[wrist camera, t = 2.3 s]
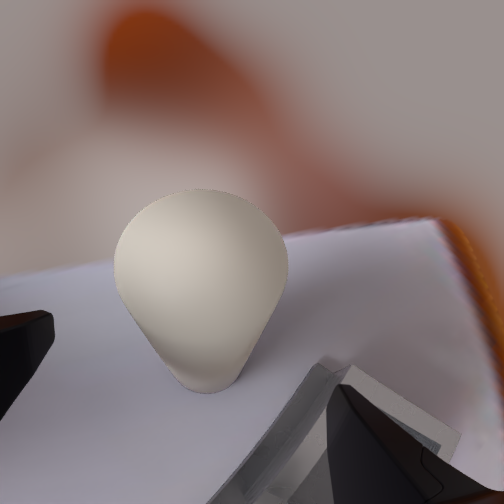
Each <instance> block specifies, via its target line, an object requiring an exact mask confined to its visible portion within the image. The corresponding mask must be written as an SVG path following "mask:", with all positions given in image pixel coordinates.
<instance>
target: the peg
mask: <svg viewBox="0 0 504 504" xmlns="http://www.w3.org/2000/svg"><path fill="white" fill-rule="evenodd" d="M287 275H288V256H287V250H286V247H285V244H284V241H283V239H282V237H281V234H280V232H279V231H278V229H277V228H276V226H275V225H274V224H273V222H272V221H271V220H270V219H269V217H268V216H267V215H266V214H264V213H263V212H262V211H261V210H260V209H259V208H257V207H256V206H255V205H253V204H252V203H250V202H248V201H246V200H244V199H242V198H240V197H238V196H235V195H232V194H229V193H226V192H221V191H216V190H205V189H204V190H203V189H202V190H201V189H198V190H197V189H196V190H186V191H182V192H177V193H173V194H170V195H167V196H165V197H162V198H160V199H158V200H156V201H154V202H153V203H151V204H149V205H148V206H146V207H145V208H144V209H142V210H141V211H140V212H139V213H138V214H137V215H136V216H135V217H134V218H133V219H132V220H131V221H130V223H129V224H128V225H127V227H126V228H125V230H124V231H123V233H122V235H121V237H120V239H119V242H118V245H117V248H116V251H115V257H114V277H115V283H116V286H117V289H118V292H119V295H120V297H121V299H122V301H123V303H124V304H125V306H126V308H127V309H128V311H129V312H130V314H131V315H132V317H133V318H134V320H135V321H136V323H137V324H138V326H139V327H140V329H141V330H142V332H143V333H144V335H145V336H146V338H147V339H148V341H149V342H150V344H151V345H152V346H153V348H154V349H155V351H156V352H157V353H158V355H159V356H160V358H161V359H162V360H163V362H164V363H165V364H166V366H167V367H168V369H169V370H170V371H171V373H172V374H173V375H174V377H175V378H176V379H177V380H178V381H179V382H180V383H181V384H182V385H183V386H184V387H186V388H187V389H189V390H191V391H194V392H197V393H203V394H211V393H216V392H220V391H222V390H224V389H226V388H227V387H229V386H230V385H231V384H232V383H233V382H234V381H235V380H236V379H237V377H238V376H239V374H240V372H241V370H242V369H243V367H244V365H245V363H246V361H247V360H248V358H249V356H250V354H251V352H252V350H253V349H254V347H255V345H256V343H257V341H258V339H259V338H260V336H261V334H262V332H263V330H264V328H265V326H266V325H267V323H268V321H269V319H270V317H271V315H272V313H273V311H274V309H275V308H276V306H277V304H278V302H279V300H280V298H281V296H282V293H283V291H284V288H285V285H286V281H287Z"/></svg>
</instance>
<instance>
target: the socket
mask: <svg viewBox="0 0 504 504" xmlns="http://www.w3.org/2000/svg"><path fill="white" fill-rule="evenodd" d="M337 384H348V385H351V386H352V387H353V388H355V389H356V390H357V391H358V392H359V393H360V394H362V395H363V396H364V397H365V398H366V399H368V400H369V401H370V402H371V403H372V404H374V405H375V406H376V407H377V408H378V409H380V410H381V411H382V412H383V413H384V414H386V415H387V416H388V417H389V418H391V419H392V420H393V421H394V422H395V423H397V424H398V425H399V426H400V427H402V428H403V429H404V430H405V431H406V432H408V433H409V434H410V435H411V436H413V437H414V438H415V439H416V440H418V441H419V442H420V443H421V444H423V446H425V447H427V448H428V449H429V450H430V451H431V452H433V453H434V454H435V455H437V456H438V457H439V458H441V459H442V460H443V461H445V462H446V463H448V464H449V462H450V460H451V457H452V455H453V453H454V451H455V449H456V446H457V444H458V442H459V439H460V437H461V434H460V433H459V432H457V431H455V430H454V429H452V428H451V427H449V426H447V425H446V424H444V423H443V422H441V421H439V420H438V419H436V418H435V417H433V416H431V415H430V414H428V413H427V412H425V411H423V410H422V409H420V408H419V407H417V406H416V405H414V404H412V403H411V402H409V401H408V400H406V399H405V398H403V397H402V396H400V395H398V394H397V393H395V392H394V391H392V390H391V389H389V388H388V387H386V386H385V385H383V384H382V383H380V382H379V381H377V380H376V379H374V378H372V377H371V376H369V375H368V374H366V373H365V372H363V371H362V370H360V369H359V368H357V367H356V366H354V365H353V364H351V365H349V366H347V367H345V368H343V369H341V370H339V371H337V372H335V373H332V372H331V371H329V370H328V369H326V368H325V367H323V366H322V365H320V364H319V363H317V364H315V365H314V366H313V367H312V368H311V370H310V371H309V373H308V374H307V376H306V377H305V379H304V380H303V382H302V383H301V384H300V386H299V387H298V389H297V390H296V392H295V393H294V395H293V396H292V397H291V399H290V400H289V402H288V403H287V404H286V406H285V407H284V409H283V410H282V411H281V413H280V414H279V415H278V417H277V418H276V419H275V421H274V422H273V424H272V425H271V426H270V427H269V429H268V430H267V431H266V433H265V434H264V435H263V437H262V438H261V439H260V441H259V442H258V443H257V444H256V446H255V447H254V448H253V449H252V451H251V452H250V453H249V454H248V456H247V457H246V458H245V459H244V461H243V462H242V463H241V464H240V465H239V467H238V468H237V469H236V470H235V471H234V473H233V474H232V475H231V476H230V477H229V478H228V480H227V481H226V482H225V483H224V484H223V485H222V487H221V488H220V489H219V490H218V491H217V492H216V493H215V494H214V496H213V497H212V498H211V499H210V500H209V501H208V502H207V503H206V504H334V501H333V493H332V485H331V477H330V470H329V463H328V455H327V427H326V408H327V404H328V401H329V399H330V397H331V395H332V393H333V390H334V388H335V386H336V385H337Z"/></svg>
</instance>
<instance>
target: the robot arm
mask: <svg viewBox="0 0 504 504" xmlns="http://www.w3.org/2000/svg"><path fill="white" fill-rule="evenodd" d="M54 339H55V331H54V318H53V315H52V314H51V313H49V312H47V311H44V310H38V311H32V312H25V313H19V314H13V315H7V316H0V421H1V419H2V418H3V416H4V415H5V414H6V412H7V411H8V409H9V408H10V406H11V405H12V404H13V402H14V401H15V399H16V398H17V397H18V395H19V394H20V393H21V391H22V390H23V388H24V387H25V386H26V384H27V383H28V382H29V380H30V379H31V378H32V376H33V375H34V373H35V372H36V370H37V368H38V367H39V365H40V363H41V362H42V360H43V358H44V357H45V355H46V354H47V352H48V350H49V349H50V347H51V346H52V344H53V342H54ZM326 427H327V455H328V463H329V470H330V477H331V485H332V493H333V501H334V504H504V491H495V490H491V489H489V488H486V487H485V486H483V485H481V484H479V483H478V482H476V481H475V480H473V479H471V478H470V477H468V476H466V475H465V474H463V473H462V472H460V471H458V470H457V469H455V468H454V467H452V466H451V465H449V464H448V463H446V462H445V461H443V460H442V459H441V458H439V457H438V456H437V455H435V454H434V453H433V452H431V451H430V450H429V449H428V448H427V447H425V446H423V444H421V443H420V442H419V441H418V440H416V439H415V438H414V437H413V436H411V435H410V434H409V433H408V432H406V431H405V430H404V429H403V428H402V427H400V426H399V425H398V424H397V423H395V422H394V421H393V420H392V419H391V418H389V417H388V416H387V415H386V414H384V413H383V412H382V411H381V410H380V409H378V408H377V407H376V406H375V405H374V404H372V403H371V402H370V401H369V400H368V399H366V398H365V397H364V396H363V395H362V394H360V393H359V392H358V391H357V390H356V389H355V388H353V387H352V386H351V385H348V384H337V385H336V386H335V388H334V390H333V393H332V395H331V397H330V399H329V401H328V404H327V408H326Z"/></svg>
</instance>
